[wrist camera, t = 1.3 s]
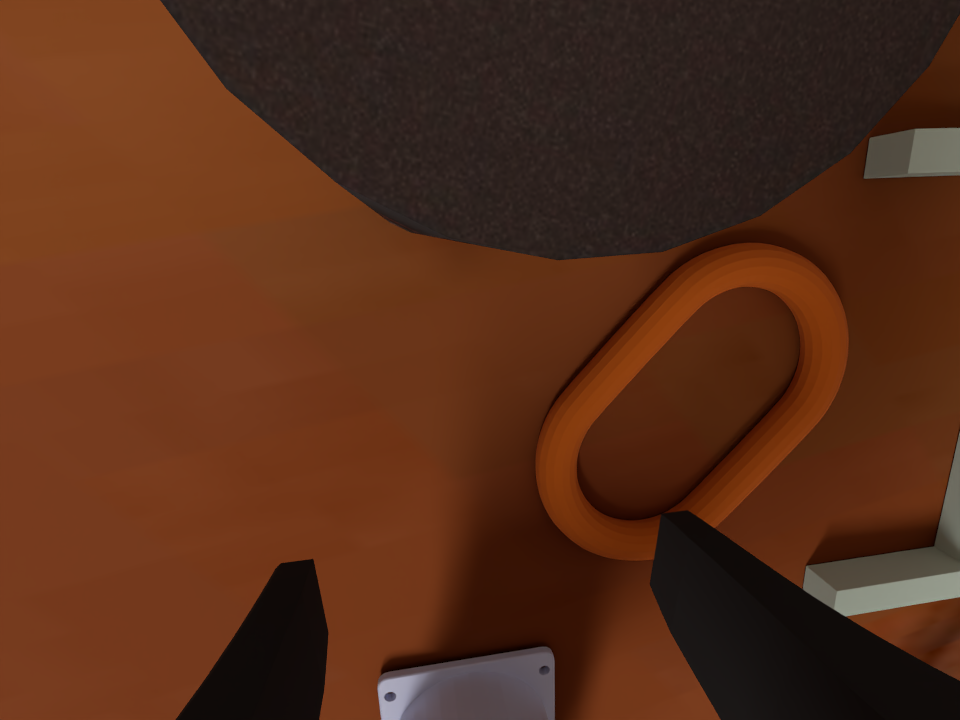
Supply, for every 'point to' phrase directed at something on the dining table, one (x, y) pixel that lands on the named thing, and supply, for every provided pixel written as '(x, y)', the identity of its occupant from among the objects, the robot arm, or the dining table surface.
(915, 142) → the bar pull handle
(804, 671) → the robot arm
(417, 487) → the dining table surface
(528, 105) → the deodorant
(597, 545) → the orange oval ring
